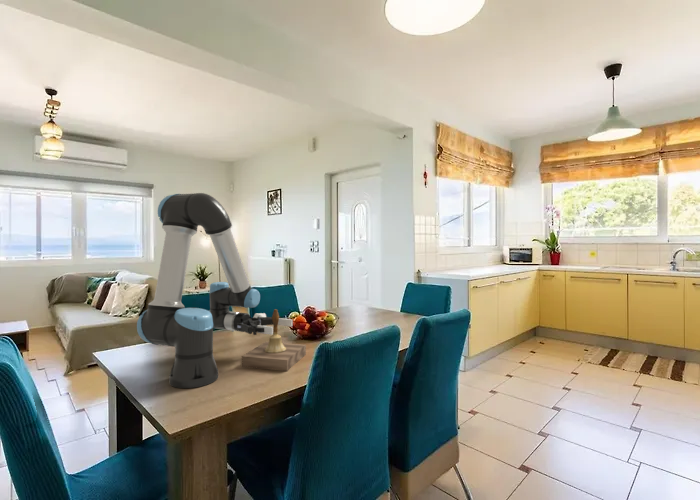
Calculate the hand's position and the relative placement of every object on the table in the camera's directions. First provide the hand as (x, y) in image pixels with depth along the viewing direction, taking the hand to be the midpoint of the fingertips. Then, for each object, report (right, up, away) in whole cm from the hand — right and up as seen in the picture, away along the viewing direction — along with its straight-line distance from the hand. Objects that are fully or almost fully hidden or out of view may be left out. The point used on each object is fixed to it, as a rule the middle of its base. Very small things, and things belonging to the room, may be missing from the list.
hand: (282, 326), depth 142 cm
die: (-22, -12, +54) cm, 60 cm away
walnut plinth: (-3, -13, +2) cm, 14 cm away
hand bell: (-3, -10, +2) cm, 10 cm away
